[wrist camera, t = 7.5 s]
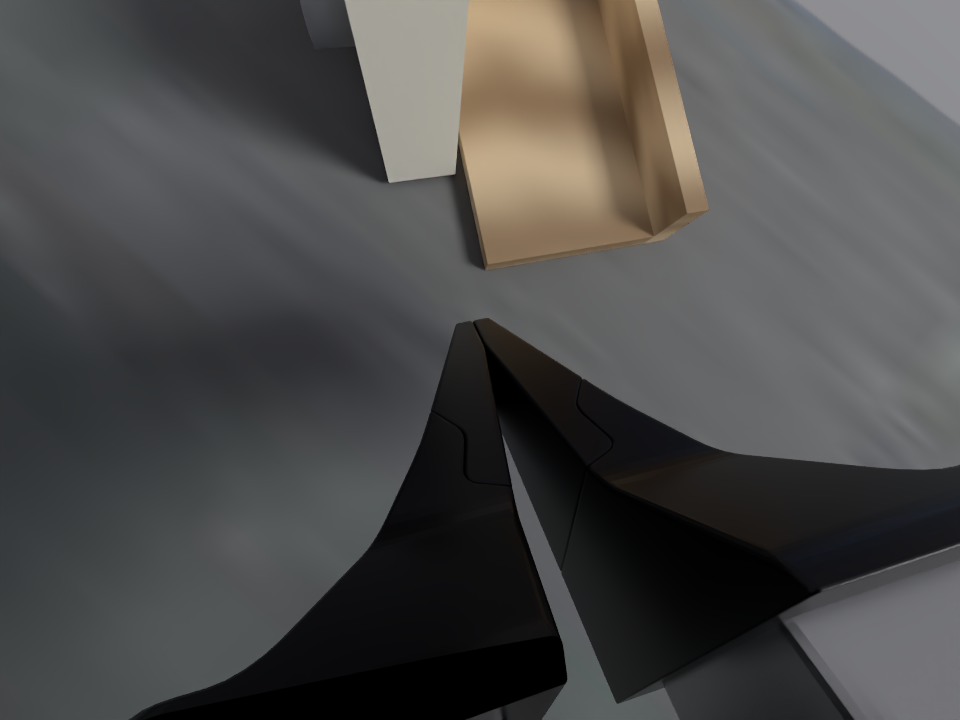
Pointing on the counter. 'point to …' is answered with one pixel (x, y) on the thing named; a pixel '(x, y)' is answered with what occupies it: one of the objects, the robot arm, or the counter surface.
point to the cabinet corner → (573, 129)
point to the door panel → (403, 74)
